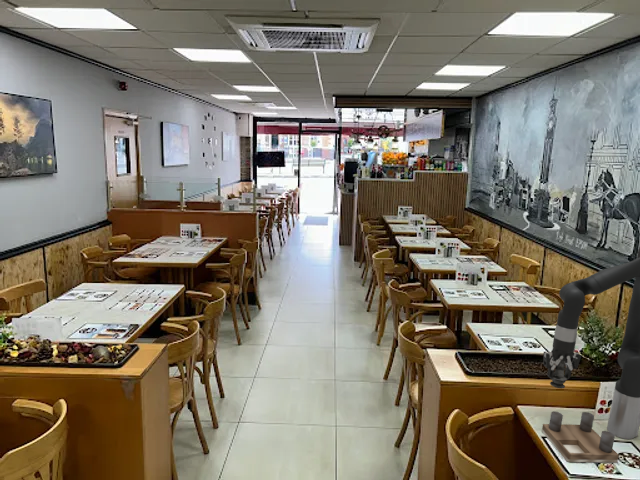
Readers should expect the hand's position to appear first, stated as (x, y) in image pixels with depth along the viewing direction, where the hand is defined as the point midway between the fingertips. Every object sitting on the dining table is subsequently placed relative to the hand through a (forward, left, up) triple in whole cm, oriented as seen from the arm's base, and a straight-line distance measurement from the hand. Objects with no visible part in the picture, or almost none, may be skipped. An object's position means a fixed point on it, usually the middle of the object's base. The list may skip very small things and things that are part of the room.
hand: (558, 377), depth 188 cm
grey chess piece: (0, 0, -3) cm, 3 cm away
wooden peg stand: (-2, +14, -19) cm, 24 cm away
